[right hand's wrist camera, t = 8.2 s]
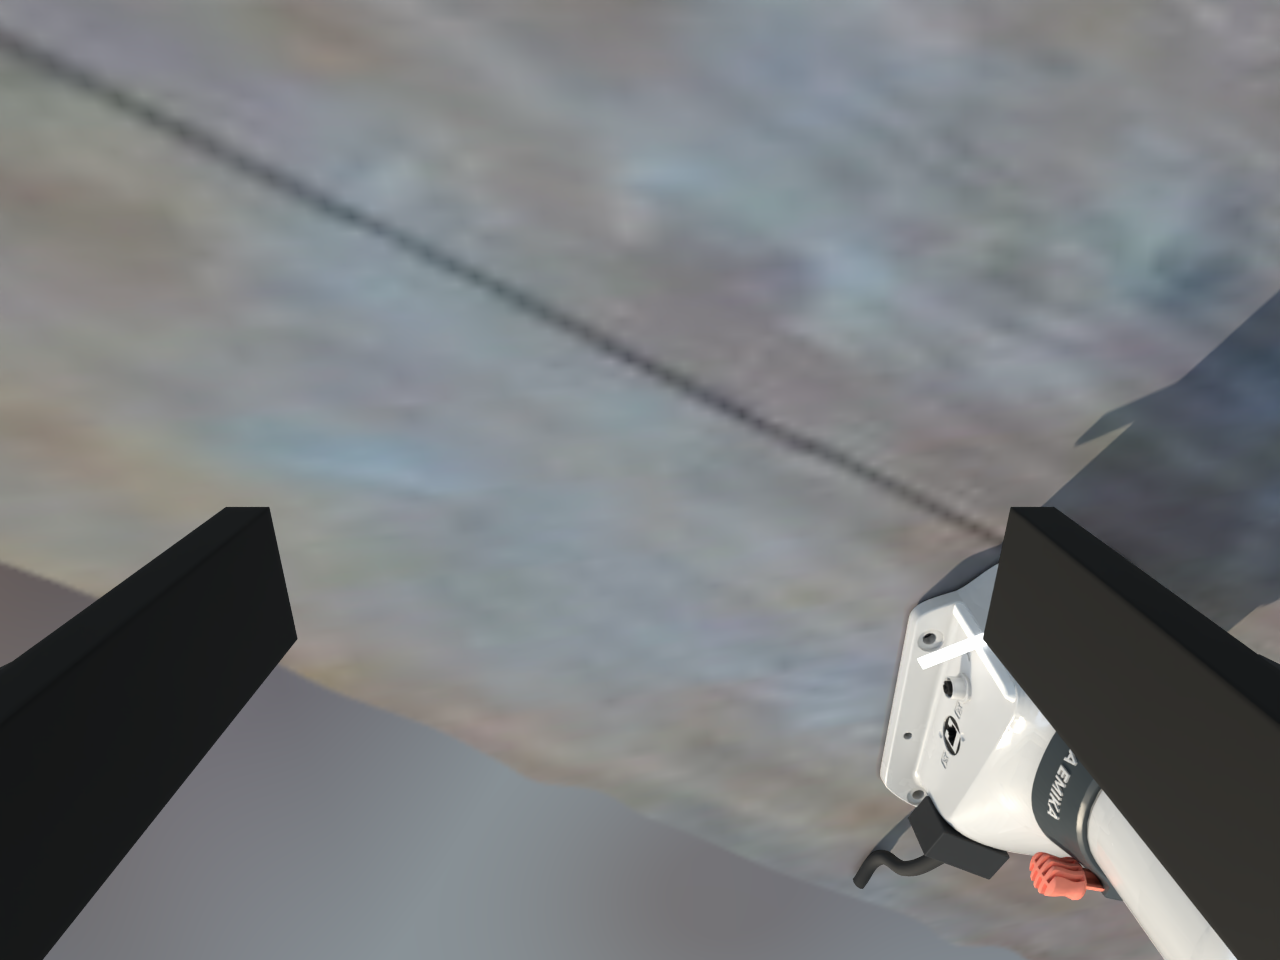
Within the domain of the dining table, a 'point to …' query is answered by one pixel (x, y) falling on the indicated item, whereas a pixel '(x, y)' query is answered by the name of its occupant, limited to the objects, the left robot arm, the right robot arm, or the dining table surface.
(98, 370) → the dining table surface
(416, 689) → the dining table surface
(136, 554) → the dining table surface
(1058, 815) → the left robot arm
